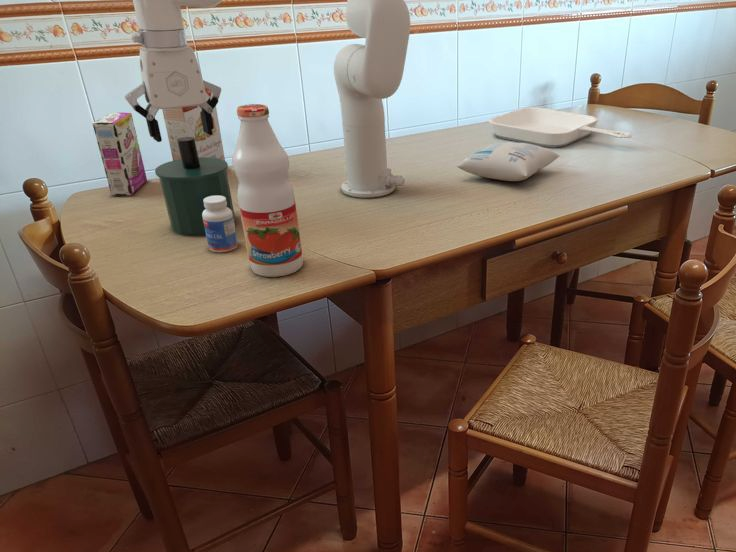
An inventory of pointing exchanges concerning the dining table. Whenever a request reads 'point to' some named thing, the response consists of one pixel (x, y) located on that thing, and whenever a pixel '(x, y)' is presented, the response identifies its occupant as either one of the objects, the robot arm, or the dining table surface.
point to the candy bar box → (120, 153)
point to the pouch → (508, 161)
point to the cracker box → (193, 130)
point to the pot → (193, 201)
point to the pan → (547, 127)
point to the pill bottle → (219, 224)
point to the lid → (190, 164)
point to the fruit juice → (266, 196)
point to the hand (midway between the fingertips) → (183, 136)
